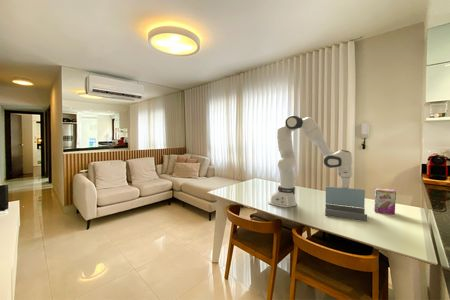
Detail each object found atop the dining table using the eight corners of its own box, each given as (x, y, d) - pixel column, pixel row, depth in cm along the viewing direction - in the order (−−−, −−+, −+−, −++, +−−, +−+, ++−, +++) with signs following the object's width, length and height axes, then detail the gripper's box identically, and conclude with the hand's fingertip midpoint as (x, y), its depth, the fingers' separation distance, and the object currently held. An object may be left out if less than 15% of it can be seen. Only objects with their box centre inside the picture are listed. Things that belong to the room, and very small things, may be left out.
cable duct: (325, 215, 140) (325, 209, 139) (325, 209, 150) (325, 203, 150) (367, 221, 129) (367, 215, 128) (364, 214, 139) (364, 208, 139)
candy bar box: (374, 212, 143) (375, 189, 141) (374, 209, 147) (374, 187, 146) (395, 215, 137) (396, 191, 136) (393, 212, 141) (394, 189, 140)
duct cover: (325, 186, 149) (325, 186, 150) (325, 203, 150) (325, 203, 151) (364, 189, 138) (364, 189, 139) (364, 208, 139) (364, 207, 140)
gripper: (338, 169, 155) (338, 187, 156) (340, 175, 137) (340, 194, 138) (348, 170, 152) (348, 187, 154) (351, 175, 134) (351, 195, 135)
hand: (344, 191), depth 146 cm, fingers closed
